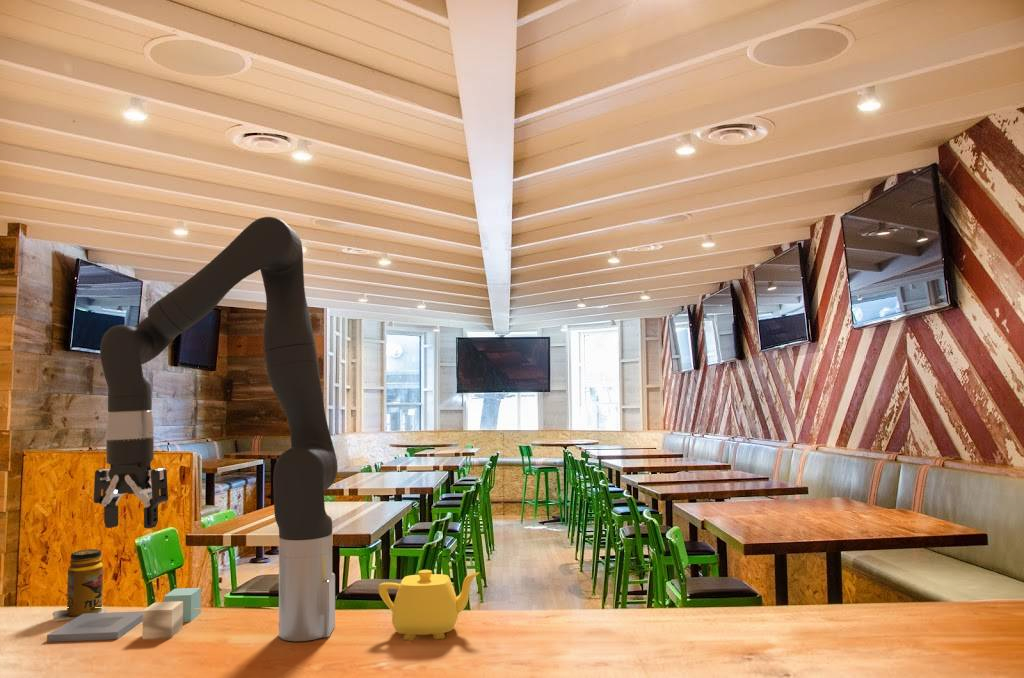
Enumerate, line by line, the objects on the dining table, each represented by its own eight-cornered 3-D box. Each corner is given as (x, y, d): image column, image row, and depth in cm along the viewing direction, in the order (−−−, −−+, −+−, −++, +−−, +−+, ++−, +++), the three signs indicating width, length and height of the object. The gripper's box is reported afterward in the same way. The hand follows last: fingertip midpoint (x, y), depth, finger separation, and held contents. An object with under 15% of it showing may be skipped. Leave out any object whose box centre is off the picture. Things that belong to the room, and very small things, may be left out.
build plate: (147, 617, 139) (147, 611, 139) (117, 639, 127) (117, 632, 127) (83, 619, 138) (83, 613, 138) (46, 641, 126) (47, 634, 126)
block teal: (200, 613, 141) (201, 587, 142) (191, 622, 136) (191, 595, 137) (174, 614, 141) (174, 588, 141) (163, 623, 136) (164, 596, 136)
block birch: (182, 629, 132) (183, 601, 133) (171, 638, 127) (171, 609, 128) (154, 630, 132) (155, 602, 132) (142, 639, 127) (142, 610, 127)
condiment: (105, 614, 142) (106, 552, 143) (54, 622, 137) (56, 558, 138) (102, 605, 148) (103, 545, 149) (53, 613, 143) (55, 551, 144)
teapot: (480, 620, 133) (479, 561, 134) (479, 641, 122) (478, 577, 123) (383, 623, 133) (382, 564, 134) (373, 645, 122) (373, 580, 123)
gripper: (177, 434, 131) (178, 524, 130) (115, 435, 136) (116, 523, 134) (146, 437, 124) (146, 532, 123) (81, 438, 128) (81, 531, 127)
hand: (130, 527), depth 129 cm, fingers open, 8 cm apart
